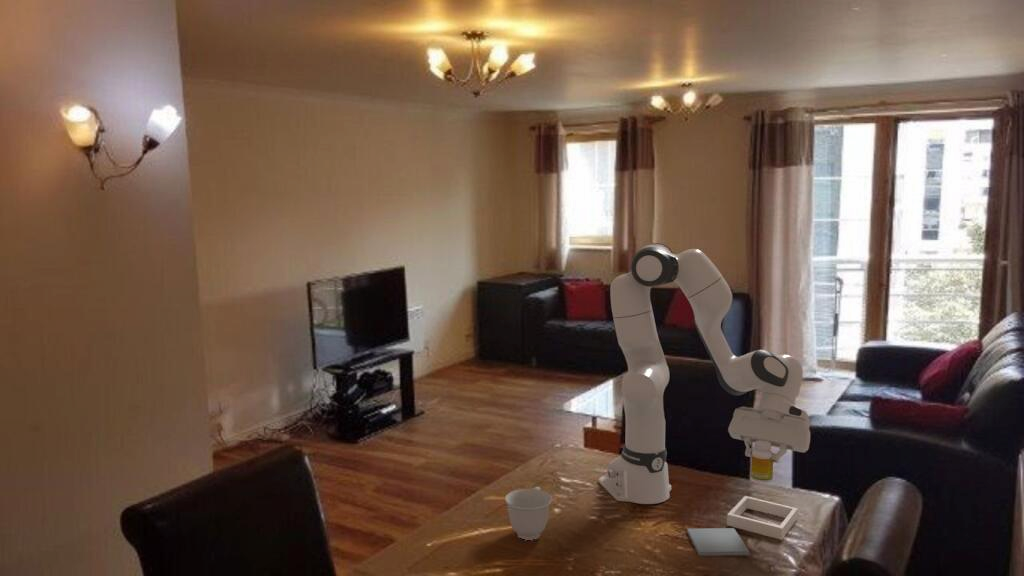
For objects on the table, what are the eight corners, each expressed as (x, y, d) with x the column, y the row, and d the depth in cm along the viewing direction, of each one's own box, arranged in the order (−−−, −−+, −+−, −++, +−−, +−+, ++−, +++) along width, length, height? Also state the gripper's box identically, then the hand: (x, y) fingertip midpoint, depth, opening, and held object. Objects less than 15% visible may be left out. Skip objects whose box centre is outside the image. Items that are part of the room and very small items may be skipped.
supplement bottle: (773, 484, 189) (774, 447, 187) (750, 481, 190) (752, 445, 189) (771, 475, 194) (773, 440, 192) (749, 473, 195) (751, 438, 194)
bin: (726, 525, 194) (727, 514, 193) (744, 506, 205) (745, 495, 205) (781, 539, 186) (782, 528, 185) (797, 519, 197) (797, 508, 197)
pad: (687, 532, 190) (687, 528, 190) (733, 531, 190) (734, 528, 190) (699, 555, 178) (699, 551, 178) (749, 555, 178) (749, 551, 178)
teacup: (560, 523, 195) (560, 487, 194) (544, 550, 181) (544, 511, 180) (517, 517, 199) (517, 481, 198) (498, 542, 185) (497, 504, 184)
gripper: (733, 399, 201) (719, 444, 195) (812, 412, 189) (799, 461, 183) (739, 411, 205) (724, 455, 199) (816, 425, 193) (804, 473, 187)
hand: (761, 458), depth 191 cm, fingers closed on supplement bottle, 5 cm apart
